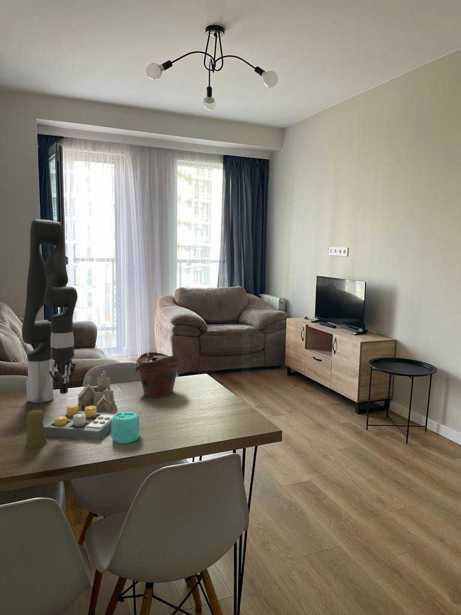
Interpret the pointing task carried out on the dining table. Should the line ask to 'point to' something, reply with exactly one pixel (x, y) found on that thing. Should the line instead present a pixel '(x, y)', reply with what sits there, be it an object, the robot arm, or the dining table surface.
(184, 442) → the dining table surface
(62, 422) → the amber button
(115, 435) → the decorative dice
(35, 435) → the olive rounded cylinder
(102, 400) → the ceramic cottage
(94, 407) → the amber button
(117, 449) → the dining table surface
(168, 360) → the brown tapered round container
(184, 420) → the dining table surface
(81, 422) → the white button
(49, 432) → the button board
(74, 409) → the amber button
